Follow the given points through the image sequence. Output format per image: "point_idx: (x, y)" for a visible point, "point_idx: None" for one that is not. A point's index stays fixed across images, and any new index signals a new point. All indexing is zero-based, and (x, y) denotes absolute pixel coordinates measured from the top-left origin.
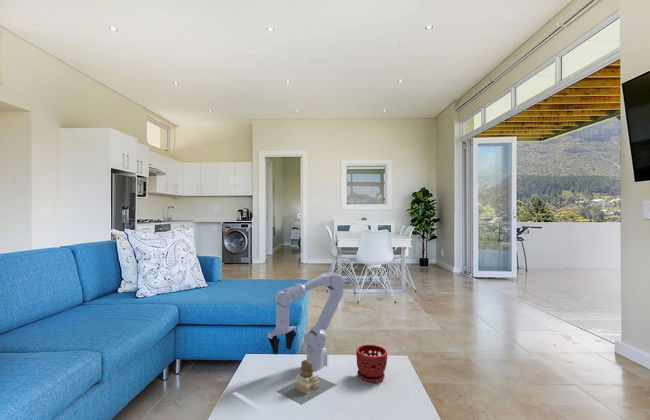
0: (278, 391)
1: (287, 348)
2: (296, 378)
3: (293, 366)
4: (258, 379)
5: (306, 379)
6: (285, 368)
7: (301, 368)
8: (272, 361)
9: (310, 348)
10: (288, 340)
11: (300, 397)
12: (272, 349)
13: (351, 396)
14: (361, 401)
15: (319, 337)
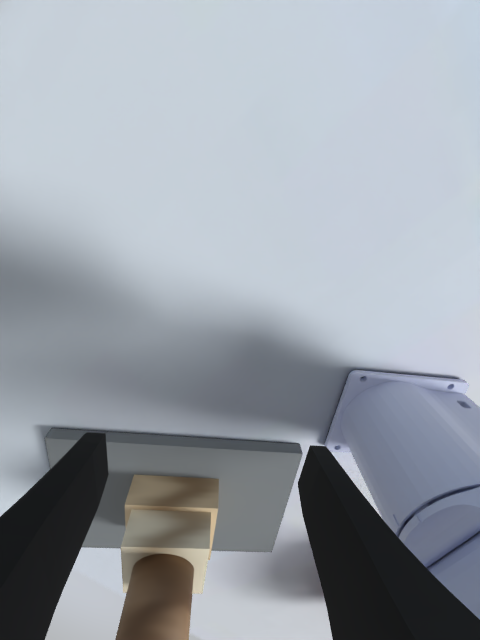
0: (54, 446)
1: (307, 460)
2: (126, 528)
3: (367, 302)
4: (74, 242)
5: (124, 589)
6: (315, 279)
7: (125, 614)
8: (385, 84)
9: (425, 555)
10: (346, 589)
11: (97, 523)
12: (51, 470)
13: (241, 584)
14: (232, 605)
15: None
